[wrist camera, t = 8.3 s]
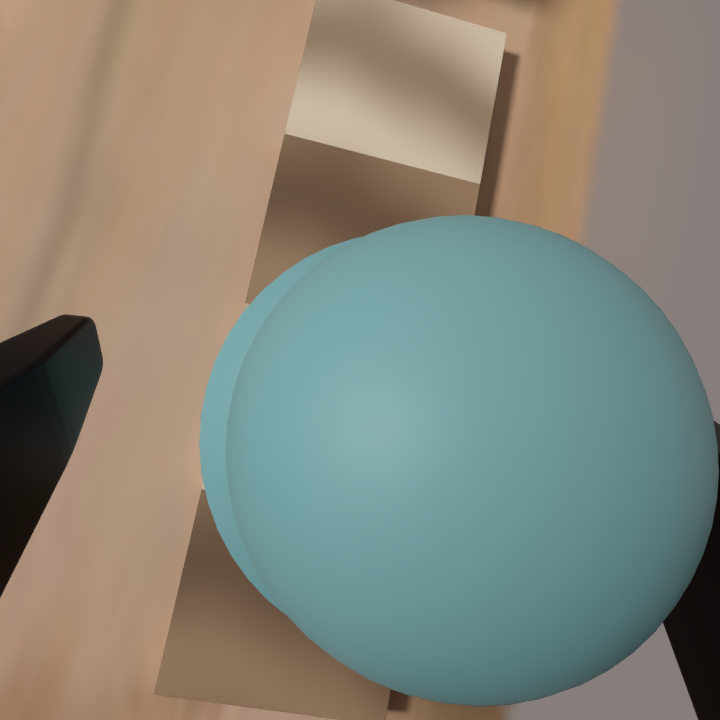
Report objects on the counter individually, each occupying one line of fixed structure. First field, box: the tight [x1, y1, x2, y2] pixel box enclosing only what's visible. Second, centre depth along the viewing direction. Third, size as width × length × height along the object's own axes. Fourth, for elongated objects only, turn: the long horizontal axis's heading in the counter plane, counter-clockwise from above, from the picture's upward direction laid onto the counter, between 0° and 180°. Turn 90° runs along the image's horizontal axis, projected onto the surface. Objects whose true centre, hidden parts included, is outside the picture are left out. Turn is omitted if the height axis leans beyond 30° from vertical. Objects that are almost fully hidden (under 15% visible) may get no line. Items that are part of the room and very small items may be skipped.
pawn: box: [200, 215, 719, 706], centre depth 9 cm, size 5×5×14 cm
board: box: [154, 0, 507, 720], centre depth 17 cm, size 24×7×1 cm, turn 169°
